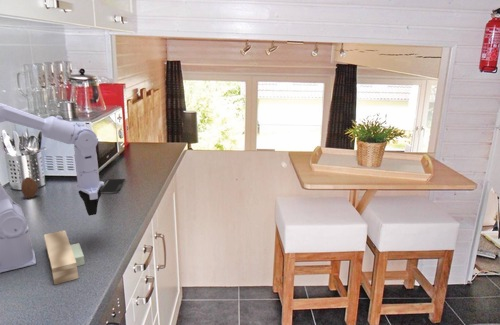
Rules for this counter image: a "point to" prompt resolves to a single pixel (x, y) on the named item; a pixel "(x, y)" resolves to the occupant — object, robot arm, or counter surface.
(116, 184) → the phone
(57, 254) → the overhang shelf
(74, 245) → the pale green slab
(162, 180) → the counter surface
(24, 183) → the coconut
